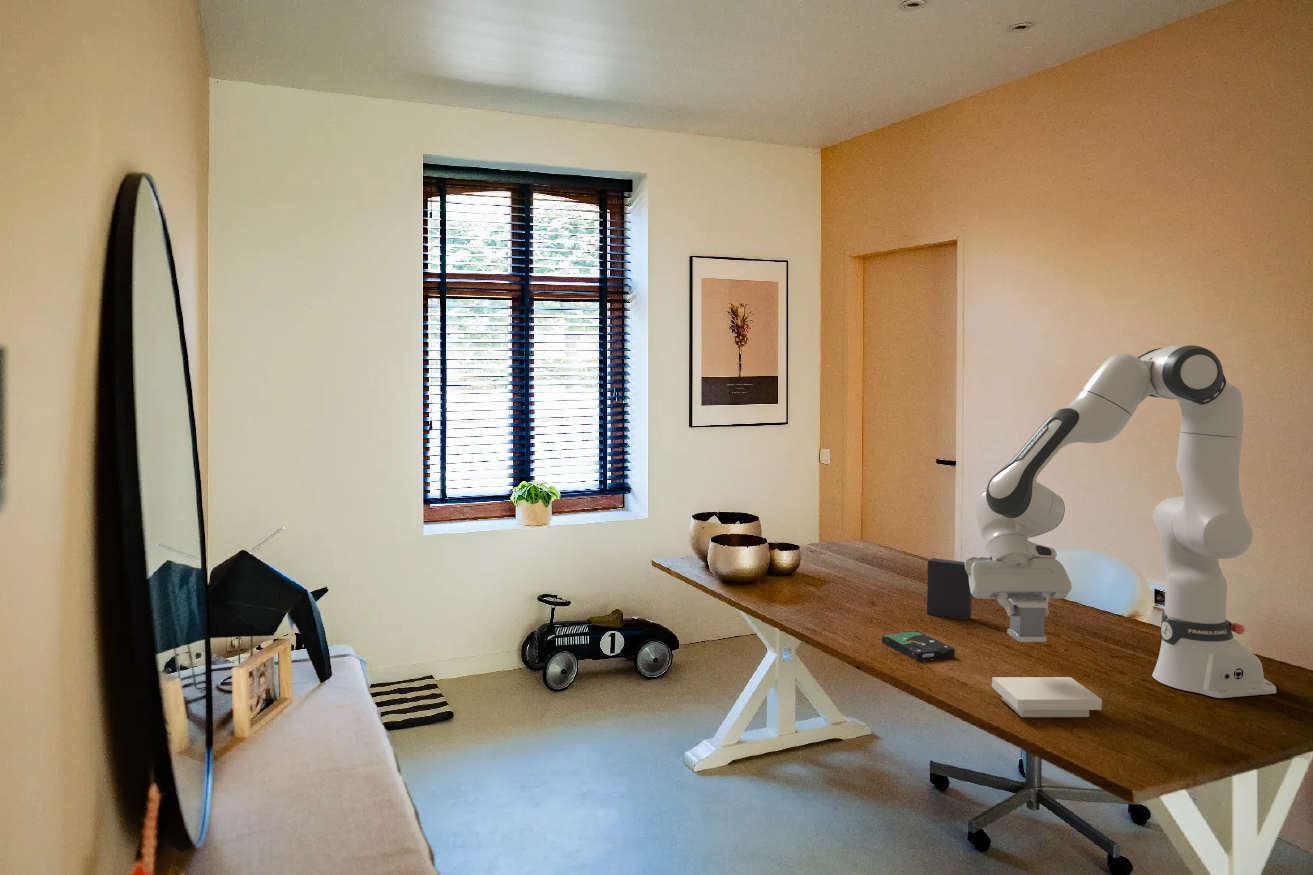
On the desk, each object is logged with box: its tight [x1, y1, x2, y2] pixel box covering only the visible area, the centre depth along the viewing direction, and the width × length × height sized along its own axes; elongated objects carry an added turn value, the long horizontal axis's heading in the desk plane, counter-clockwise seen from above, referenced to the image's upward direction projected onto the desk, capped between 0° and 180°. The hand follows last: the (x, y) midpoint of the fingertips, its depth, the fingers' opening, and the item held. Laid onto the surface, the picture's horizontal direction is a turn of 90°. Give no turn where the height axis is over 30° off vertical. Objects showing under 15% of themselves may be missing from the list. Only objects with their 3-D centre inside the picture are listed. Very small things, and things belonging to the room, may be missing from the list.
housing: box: [1006, 596, 1049, 643], centre depth 179 cm, size 6×6×8 cm
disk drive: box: [881, 630, 956, 662], centre depth 207 cm, size 10×3×15 cm
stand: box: [991, 676, 1103, 718], centre depth 171 cm, size 16×12×4 cm
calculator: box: [926, 557, 973, 621], centre depth 235 cm, size 11×4×15 cm, turn 58°
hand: (1028, 614), depth 179 cm, fingers closed on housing, 5 cm apart
